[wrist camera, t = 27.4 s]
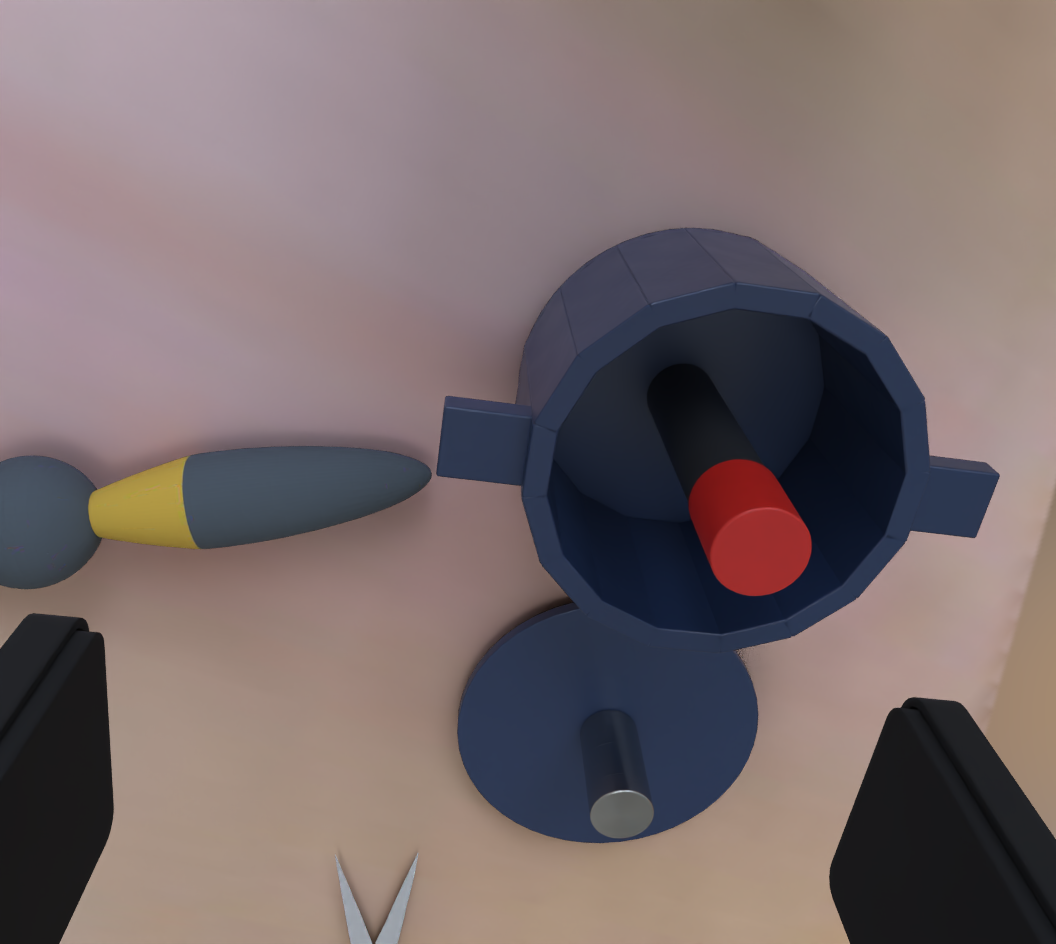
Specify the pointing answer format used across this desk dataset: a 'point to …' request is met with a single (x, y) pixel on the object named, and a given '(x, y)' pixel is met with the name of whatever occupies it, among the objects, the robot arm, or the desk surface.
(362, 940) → the scissors
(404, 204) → the desk surface
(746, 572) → the marker
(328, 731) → the desk surface
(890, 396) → the pot
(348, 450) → the grey microphone
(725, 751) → the lid
